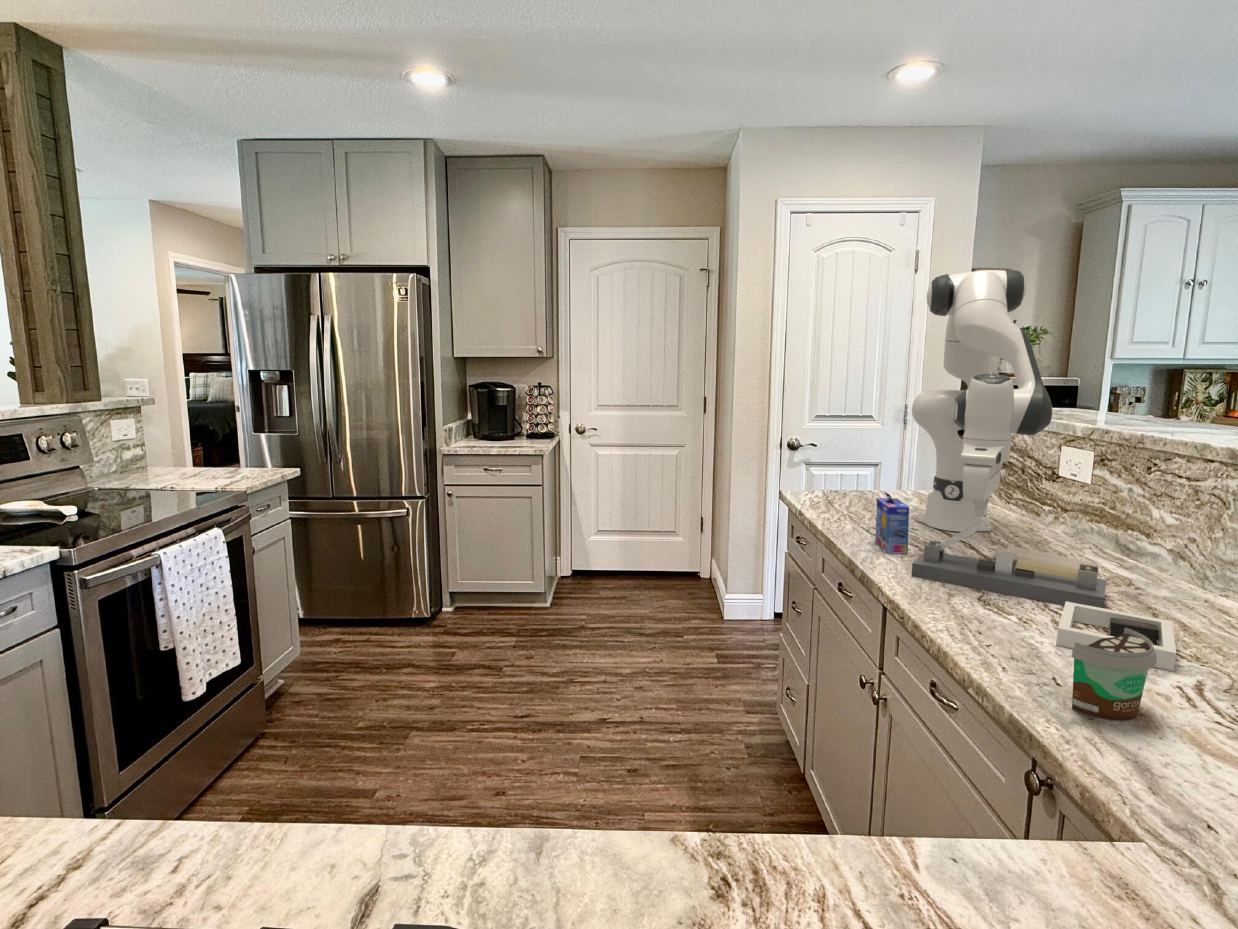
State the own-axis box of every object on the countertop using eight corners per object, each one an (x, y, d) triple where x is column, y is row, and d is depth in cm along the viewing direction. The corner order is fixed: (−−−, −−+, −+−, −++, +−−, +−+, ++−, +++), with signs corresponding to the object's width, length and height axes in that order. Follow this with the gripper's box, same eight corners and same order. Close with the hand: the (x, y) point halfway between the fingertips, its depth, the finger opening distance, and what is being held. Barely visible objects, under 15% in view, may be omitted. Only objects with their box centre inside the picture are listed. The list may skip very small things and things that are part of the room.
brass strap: (1017, 565, 134) (1018, 557, 134) (1093, 579, 126) (1094, 570, 126) (1015, 569, 132) (1016, 561, 131) (1092, 583, 124) (1093, 574, 123)
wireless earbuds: (1163, 650, 105) (1165, 631, 104) (1109, 640, 108) (1111, 622, 108) (1158, 639, 108) (1160, 621, 108) (1106, 630, 112) (1108, 613, 112)
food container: (1114, 735, 81) (1124, 662, 79) (1064, 711, 87) (1072, 642, 85) (1169, 713, 86) (1179, 644, 84) (1119, 691, 91) (1127, 626, 90)
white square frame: (1064, 616, 118) (1065, 601, 117) (1169, 637, 109) (1172, 621, 108) (1056, 644, 106) (1057, 628, 106) (1173, 671, 97) (1176, 653, 97)
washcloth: (1006, 555, 157) (1007, 543, 156) (1094, 572, 143) (1096, 559, 143) (989, 565, 149) (990, 553, 148) (1080, 584, 136) (1082, 571, 135)
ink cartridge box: (873, 542, 167) (876, 489, 164) (895, 543, 166) (898, 489, 164) (885, 554, 157) (888, 497, 154) (908, 554, 156) (912, 497, 154)
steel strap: (934, 554, 144) (929, 547, 144) (987, 525, 136) (981, 518, 137) (931, 557, 142) (926, 550, 142) (984, 528, 134) (979, 521, 135)
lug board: (925, 562, 150) (927, 536, 149) (1104, 594, 129) (1108, 563, 128) (911, 576, 141) (913, 548, 140) (1102, 612, 119) (1106, 580, 118)
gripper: (978, 445, 143) (973, 504, 146) (958, 456, 128) (953, 522, 130) (1010, 447, 139) (1005, 508, 142) (994, 458, 124) (988, 527, 126)
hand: (980, 515), depth 136 cm, fingers closed
